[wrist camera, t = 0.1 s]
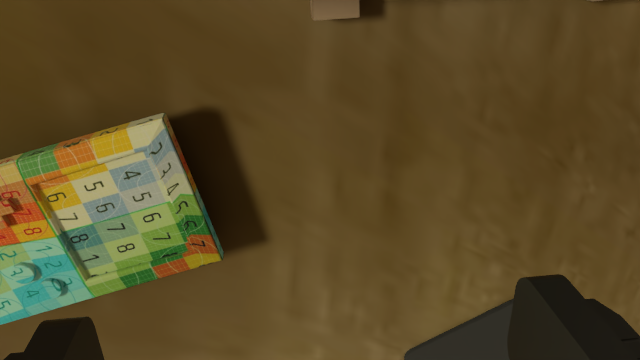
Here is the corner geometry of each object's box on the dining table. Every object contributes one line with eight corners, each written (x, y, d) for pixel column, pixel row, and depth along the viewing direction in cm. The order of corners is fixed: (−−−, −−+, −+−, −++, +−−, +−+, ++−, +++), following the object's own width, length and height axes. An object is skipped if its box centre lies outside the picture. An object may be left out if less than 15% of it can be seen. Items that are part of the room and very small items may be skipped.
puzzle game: (-138, 208, 33) (160, 122, 33) (-94, 177, 37) (171, 101, 37) (-37, 340, 38) (222, 267, 38) (-8, 300, 43) (225, 234, 42)
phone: (400, 356, 49) (546, 286, 48) (398, 350, 50) (542, 281, 48) (430, 402, 53) (568, 338, 51) (428, 395, 53) (564, 332, 51)
